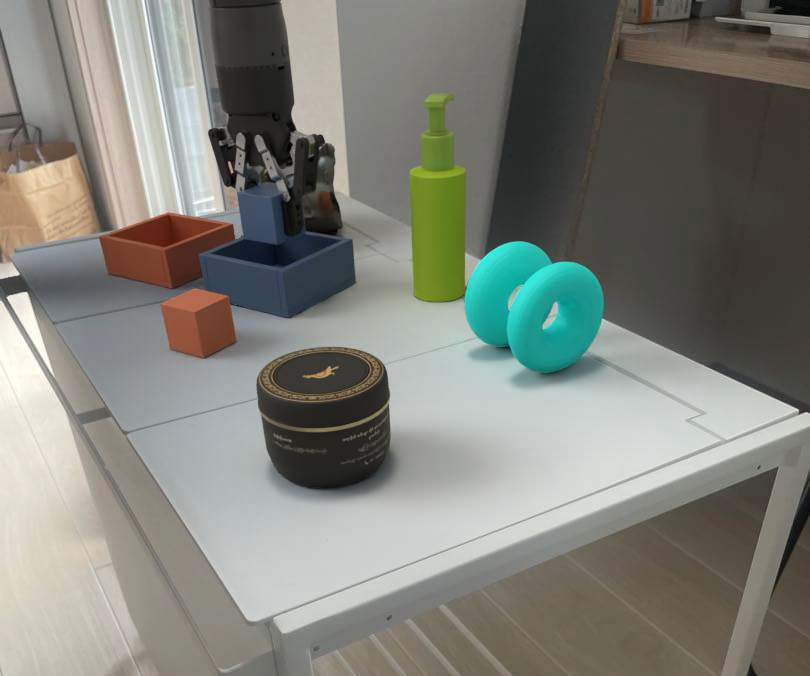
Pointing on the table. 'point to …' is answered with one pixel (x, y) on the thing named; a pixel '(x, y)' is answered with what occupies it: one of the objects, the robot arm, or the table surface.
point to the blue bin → (280, 272)
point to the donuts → (534, 306)
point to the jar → (325, 415)
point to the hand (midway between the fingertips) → (274, 230)
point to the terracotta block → (198, 322)
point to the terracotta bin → (163, 248)
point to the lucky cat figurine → (319, 193)
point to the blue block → (263, 214)
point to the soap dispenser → (438, 211)
